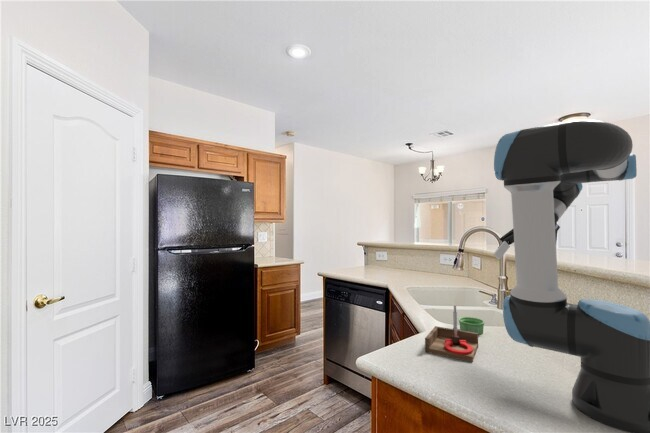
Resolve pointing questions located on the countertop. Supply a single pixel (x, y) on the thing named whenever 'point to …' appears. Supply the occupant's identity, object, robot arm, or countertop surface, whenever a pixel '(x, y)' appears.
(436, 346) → the wooden tray
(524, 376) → the countertop surface
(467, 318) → the ramekin
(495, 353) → the countertop surface
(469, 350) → the tow hook
